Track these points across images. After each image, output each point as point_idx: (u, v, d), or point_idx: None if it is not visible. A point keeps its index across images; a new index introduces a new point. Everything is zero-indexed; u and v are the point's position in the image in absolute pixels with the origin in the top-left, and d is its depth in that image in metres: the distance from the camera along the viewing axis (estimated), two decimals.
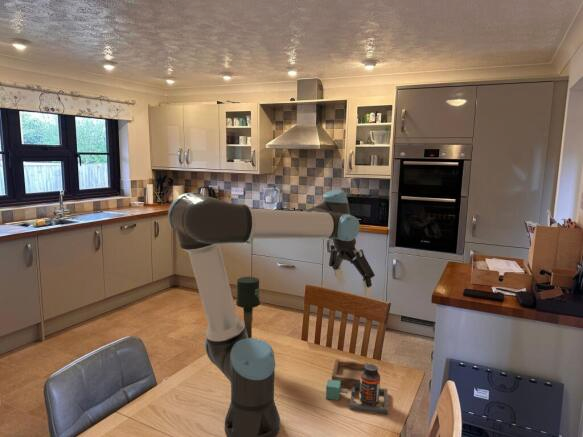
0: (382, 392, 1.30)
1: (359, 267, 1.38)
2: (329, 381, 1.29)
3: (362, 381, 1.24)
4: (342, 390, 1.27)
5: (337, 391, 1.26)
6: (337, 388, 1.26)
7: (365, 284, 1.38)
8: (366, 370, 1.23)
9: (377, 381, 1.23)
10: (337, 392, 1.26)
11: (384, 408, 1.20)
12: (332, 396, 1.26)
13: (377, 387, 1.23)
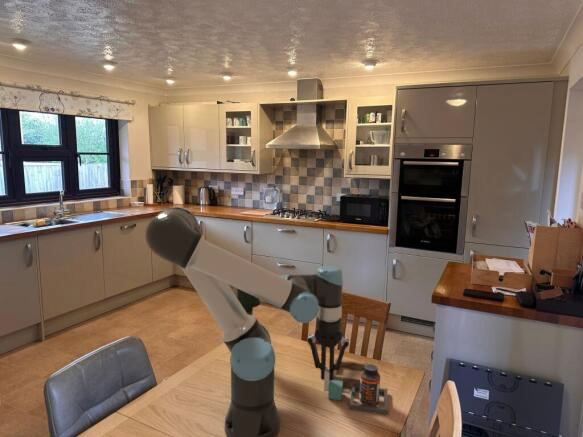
0: (382, 392, 1.30)
1: (333, 357, 1.26)
2: (331, 381, 1.29)
3: (362, 381, 1.24)
4: (344, 390, 1.27)
5: (339, 391, 1.26)
6: (339, 388, 1.26)
7: (329, 377, 1.27)
8: (366, 370, 1.23)
9: (377, 381, 1.23)
10: (339, 392, 1.26)
11: (384, 408, 1.20)
12: (334, 396, 1.26)
13: (377, 387, 1.23)
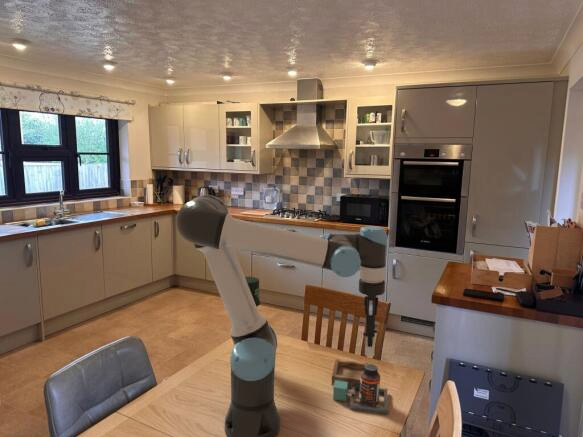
0: (382, 392, 1.30)
1: None
2: (336, 382, 1.29)
3: (362, 381, 1.24)
4: (349, 391, 1.27)
5: (344, 392, 1.25)
6: (344, 389, 1.25)
7: None
8: (366, 370, 1.23)
9: (377, 381, 1.23)
10: (344, 393, 1.25)
11: (384, 408, 1.20)
12: (339, 397, 1.26)
13: (377, 387, 1.23)
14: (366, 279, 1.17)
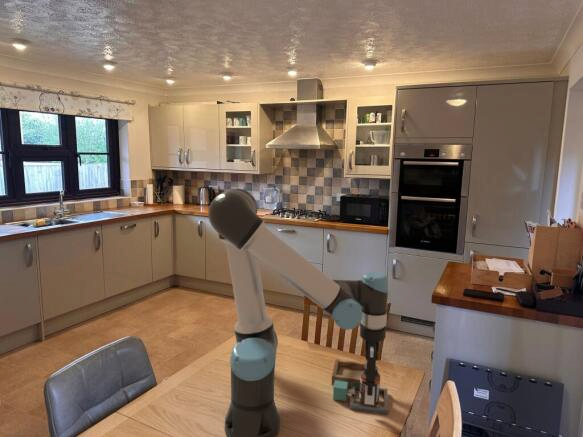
0: (382, 392, 1.30)
1: None
2: (336, 382, 1.29)
3: (362, 381, 1.24)
4: (349, 391, 1.27)
5: (344, 392, 1.25)
6: (344, 389, 1.25)
7: None
8: (366, 370, 1.23)
9: (377, 381, 1.23)
10: (344, 393, 1.25)
11: (384, 408, 1.20)
12: (339, 397, 1.26)
13: (377, 387, 1.23)
14: (367, 326, 1.19)
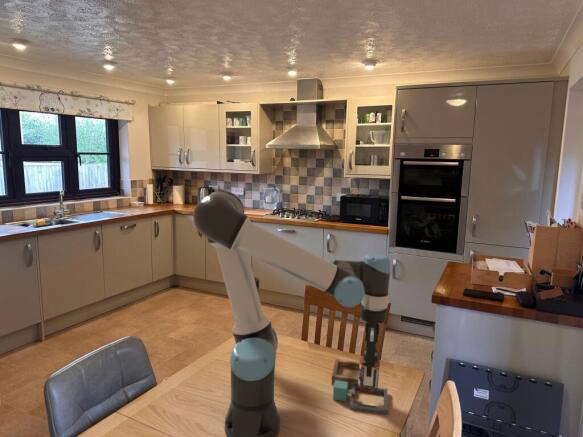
0: (382, 392, 1.30)
1: None
2: (336, 382, 1.29)
3: (361, 367, 1.23)
4: (349, 391, 1.27)
5: (344, 392, 1.25)
6: (344, 389, 1.25)
7: None
8: None
9: (376, 367, 1.22)
10: (344, 393, 1.25)
11: (384, 408, 1.20)
12: (339, 397, 1.26)
13: (376, 373, 1.22)
14: (368, 307, 1.18)
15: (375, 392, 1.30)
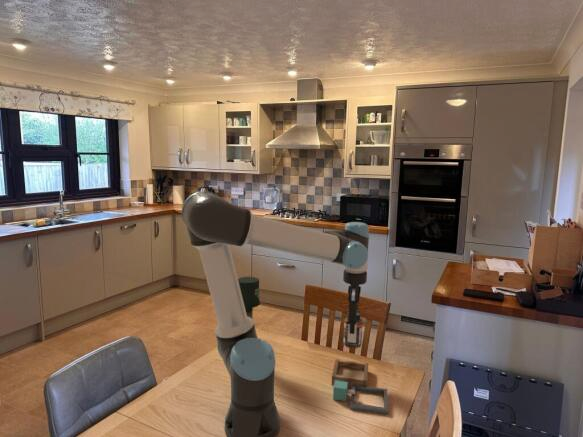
0: (382, 392, 1.30)
1: None
2: (336, 382, 1.29)
3: (346, 326, 1.35)
4: (349, 391, 1.27)
5: (344, 392, 1.25)
6: (344, 389, 1.25)
7: None
8: None
9: (359, 325, 1.34)
10: (344, 393, 1.25)
11: (384, 408, 1.20)
12: (339, 397, 1.26)
13: (359, 331, 1.34)
14: (350, 270, 1.30)
15: (375, 392, 1.30)
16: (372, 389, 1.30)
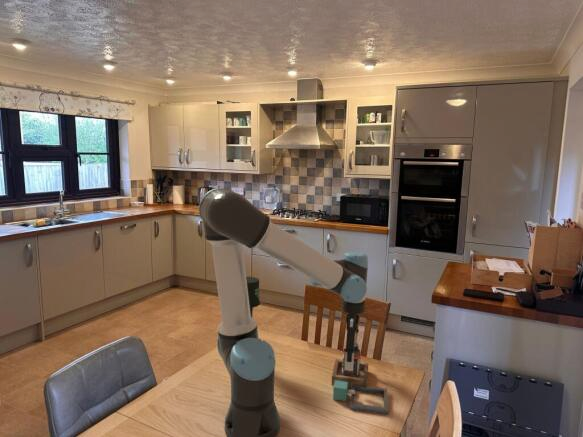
0: (382, 392, 1.30)
1: None
2: (336, 382, 1.29)
3: (344, 356, 1.36)
4: (349, 391, 1.27)
5: (344, 392, 1.25)
6: (344, 389, 1.25)
7: None
8: None
9: (357, 356, 1.35)
10: (344, 393, 1.25)
11: (384, 408, 1.20)
12: (339, 397, 1.26)
13: (358, 362, 1.36)
14: None
15: (375, 392, 1.30)
16: (372, 389, 1.30)
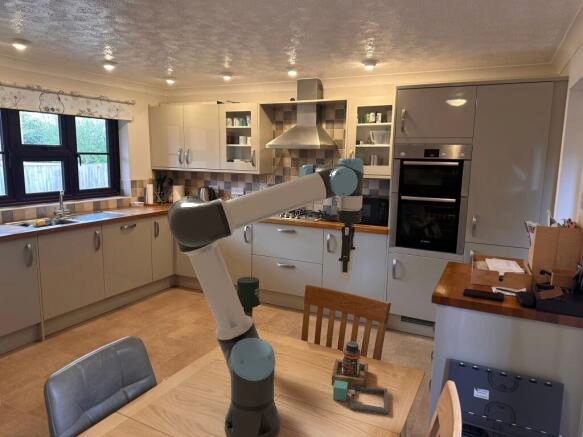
0: (382, 392, 1.30)
1: None
2: (336, 382, 1.29)
3: (344, 356, 1.36)
4: (349, 391, 1.27)
5: (344, 392, 1.25)
6: (344, 389, 1.25)
7: None
8: (348, 346, 1.36)
9: (357, 356, 1.35)
10: (344, 393, 1.25)
11: (384, 408, 1.20)
12: (339, 397, 1.26)
13: (358, 362, 1.36)
14: (343, 207, 1.23)
15: (375, 392, 1.30)
16: (372, 389, 1.30)
